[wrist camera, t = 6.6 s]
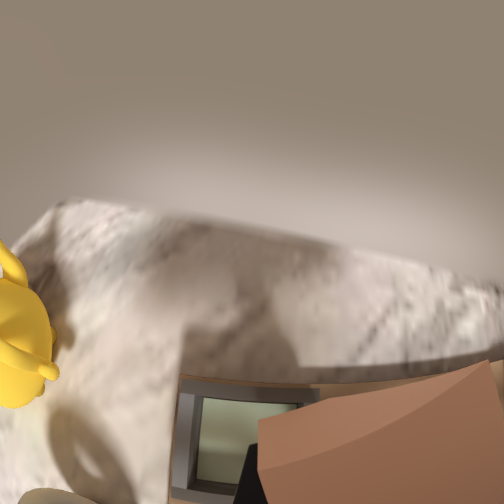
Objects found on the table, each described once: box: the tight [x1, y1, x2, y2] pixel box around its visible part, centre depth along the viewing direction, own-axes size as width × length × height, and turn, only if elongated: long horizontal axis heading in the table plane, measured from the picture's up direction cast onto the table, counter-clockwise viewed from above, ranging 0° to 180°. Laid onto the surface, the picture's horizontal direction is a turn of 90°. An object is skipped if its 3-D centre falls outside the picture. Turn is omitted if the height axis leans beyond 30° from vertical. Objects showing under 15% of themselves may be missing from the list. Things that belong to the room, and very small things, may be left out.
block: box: [257, 359, 504, 504], centre depth 7 cm, size 4×4×12 cm
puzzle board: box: [168, 359, 504, 504], centre depth 14 cm, size 17×42×4 cm, turn 86°
